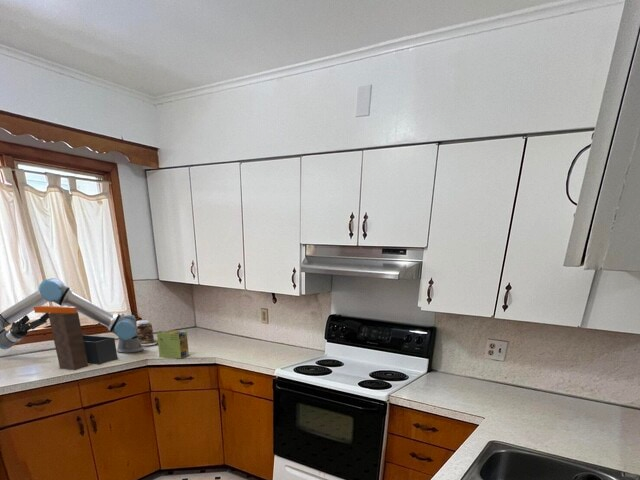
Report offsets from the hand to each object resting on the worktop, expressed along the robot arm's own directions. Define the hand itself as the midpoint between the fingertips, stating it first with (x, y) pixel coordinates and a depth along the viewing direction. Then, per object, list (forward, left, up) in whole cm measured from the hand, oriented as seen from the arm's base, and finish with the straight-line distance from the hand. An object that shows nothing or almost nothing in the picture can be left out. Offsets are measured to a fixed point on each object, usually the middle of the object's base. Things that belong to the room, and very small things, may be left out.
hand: (38, 315), depth 235 cm
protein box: (-65, +23, -27) cm, 74 cm away
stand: (-9, +15, -27) cm, 32 cm away
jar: (-70, -31, -27) cm, 81 cm away
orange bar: (-6, +12, +3) cm, 14 cm away
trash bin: (-22, +3, -27) cm, 35 cm away
